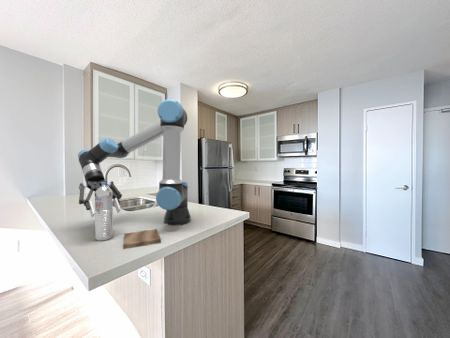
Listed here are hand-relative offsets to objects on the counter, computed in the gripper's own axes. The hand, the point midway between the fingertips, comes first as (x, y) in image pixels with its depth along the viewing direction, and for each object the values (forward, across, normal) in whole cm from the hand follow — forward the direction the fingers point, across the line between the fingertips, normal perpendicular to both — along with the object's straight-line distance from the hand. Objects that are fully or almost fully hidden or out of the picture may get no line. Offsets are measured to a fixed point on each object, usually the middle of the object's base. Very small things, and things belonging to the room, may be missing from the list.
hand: (106, 212), depth 83 cm
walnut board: (+16, -10, 0) cm, 19 cm away
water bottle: (+6, 0, -11) cm, 13 cm away
